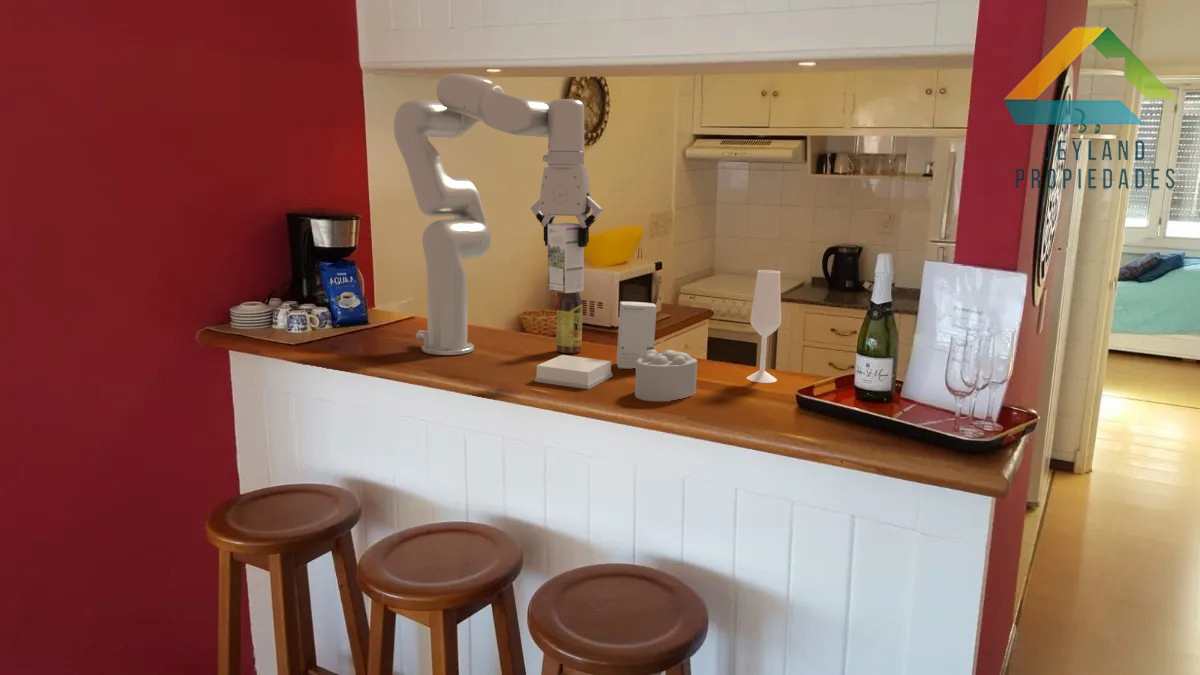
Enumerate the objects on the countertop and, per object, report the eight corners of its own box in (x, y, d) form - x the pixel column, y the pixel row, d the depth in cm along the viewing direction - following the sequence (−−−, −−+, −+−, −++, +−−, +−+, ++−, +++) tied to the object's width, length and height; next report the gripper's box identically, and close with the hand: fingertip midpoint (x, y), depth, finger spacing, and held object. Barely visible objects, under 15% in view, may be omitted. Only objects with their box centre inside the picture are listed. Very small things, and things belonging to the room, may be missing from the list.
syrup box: (584, 291, 186) (585, 223, 183) (564, 293, 182) (564, 224, 179) (566, 288, 190) (567, 222, 187) (546, 290, 186) (546, 222, 183)
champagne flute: (781, 382, 189) (789, 273, 184) (752, 383, 188) (759, 273, 183) (770, 375, 196) (778, 269, 191) (742, 375, 194) (748, 269, 190)
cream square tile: (534, 381, 184) (534, 365, 183) (561, 369, 195) (561, 354, 194) (588, 389, 179) (588, 372, 178) (612, 376, 190) (612, 360, 190)
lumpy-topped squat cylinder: (702, 394, 178) (704, 353, 176) (660, 405, 169) (662, 362, 167) (664, 384, 185) (666, 344, 183) (622, 394, 176) (623, 352, 174)
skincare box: (617, 369, 197) (619, 304, 194) (616, 362, 203) (618, 300, 200) (654, 369, 198) (657, 305, 195) (651, 363, 204) (654, 301, 201)
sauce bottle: (578, 355, 210) (580, 274, 206) (553, 353, 211) (554, 272, 207) (584, 349, 216) (586, 270, 212) (559, 348, 217) (561, 269, 213)
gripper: (520, 160, 181) (521, 245, 184) (597, 160, 174) (596, 249, 177) (537, 161, 187) (537, 243, 191) (611, 161, 181) (610, 246, 184)
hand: (566, 245), depth 184 cm, fingers closed on syrup box, 7 cm apart
